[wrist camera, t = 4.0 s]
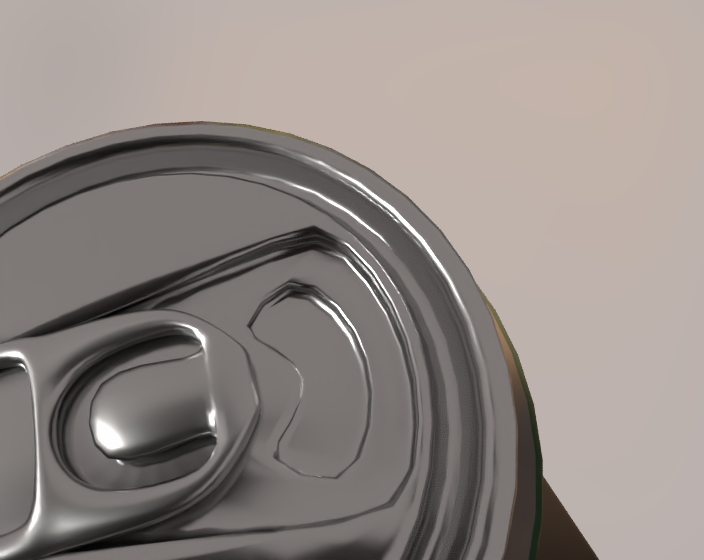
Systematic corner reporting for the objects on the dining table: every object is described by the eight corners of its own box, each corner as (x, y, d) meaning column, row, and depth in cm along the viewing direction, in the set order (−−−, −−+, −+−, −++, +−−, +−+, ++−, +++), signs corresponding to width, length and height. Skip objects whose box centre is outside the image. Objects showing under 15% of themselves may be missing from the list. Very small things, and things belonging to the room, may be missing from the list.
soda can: (463, 619, 14) (785, 805, 3) (237, 689, 13) (-442, 1235, 2) (396, 400, 16) (424, 14, 5) (200, 455, 15) (-242, 169, 4)
